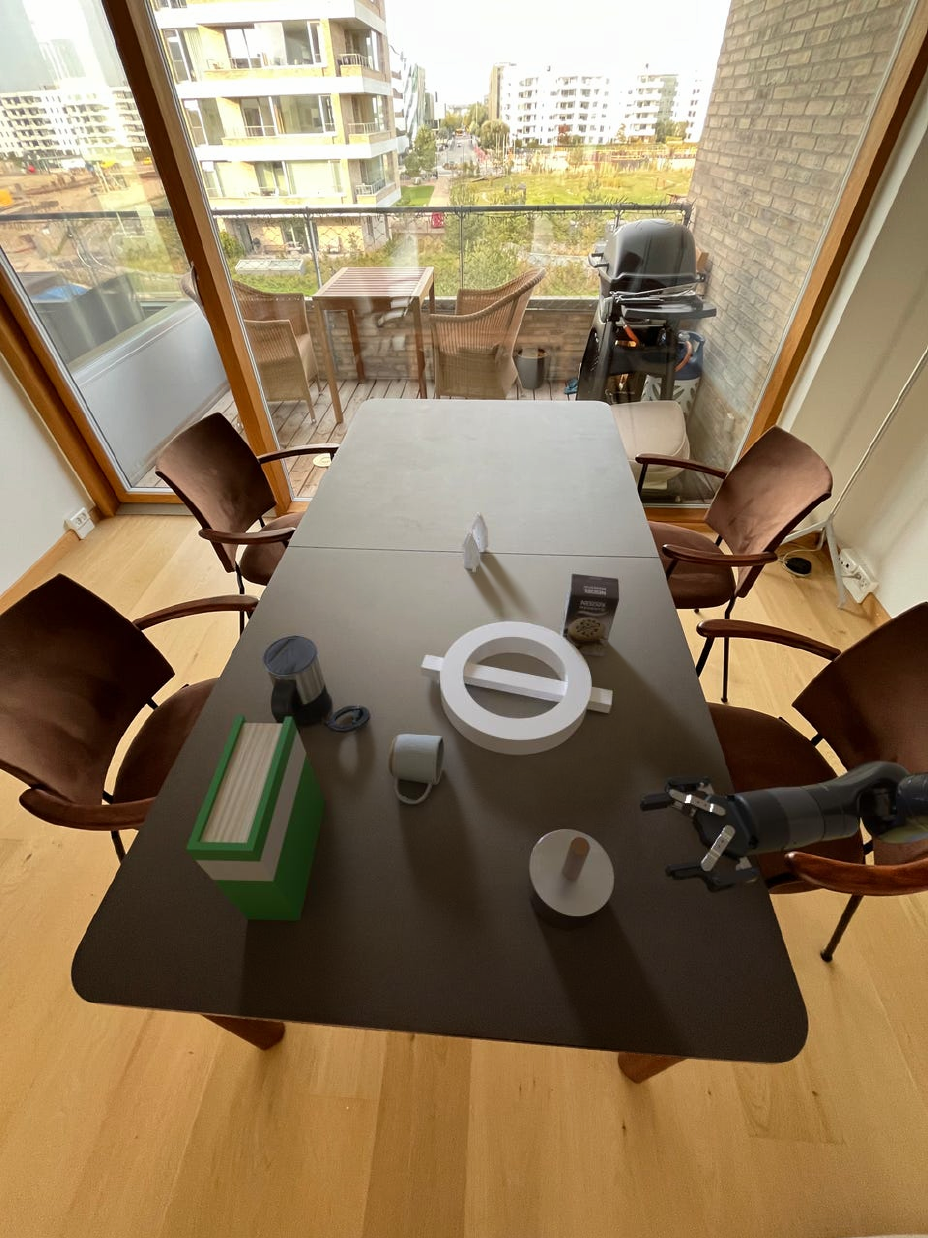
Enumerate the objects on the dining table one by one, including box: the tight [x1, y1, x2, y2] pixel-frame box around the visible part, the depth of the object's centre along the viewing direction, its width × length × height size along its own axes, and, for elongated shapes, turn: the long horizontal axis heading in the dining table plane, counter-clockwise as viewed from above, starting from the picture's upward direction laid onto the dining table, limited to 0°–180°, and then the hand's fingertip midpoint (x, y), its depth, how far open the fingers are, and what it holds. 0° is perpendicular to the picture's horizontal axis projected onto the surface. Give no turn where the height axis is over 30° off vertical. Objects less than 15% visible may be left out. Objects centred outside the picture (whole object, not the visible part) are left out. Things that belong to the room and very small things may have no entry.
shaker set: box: [462, 511, 489, 573], centre depth 131 cm, size 12×4×11 cm, turn 160°
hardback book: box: [185, 715, 326, 922], centre depth 75 cm, size 18×7×24 cm, turn 179°
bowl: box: [527, 876, 599, 932], centre depth 77 cm, size 10×10×7 cm
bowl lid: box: [528, 829, 615, 917], centre depth 72 cm, size 11×11×9 cm
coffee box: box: [559, 573, 620, 658], centre depth 109 cm, size 9×6×16 cm
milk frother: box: [261, 635, 371, 737], centre depth 97 cm, size 14×16×15 cm
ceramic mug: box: [388, 733, 445, 805], centre depth 90 cm, size 11×8×8 cm
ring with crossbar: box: [420, 621, 613, 756], centre depth 104 cm, size 28×28×5 cm
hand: (653, 837), depth 70 cm, fingers open, 8 cm apart
